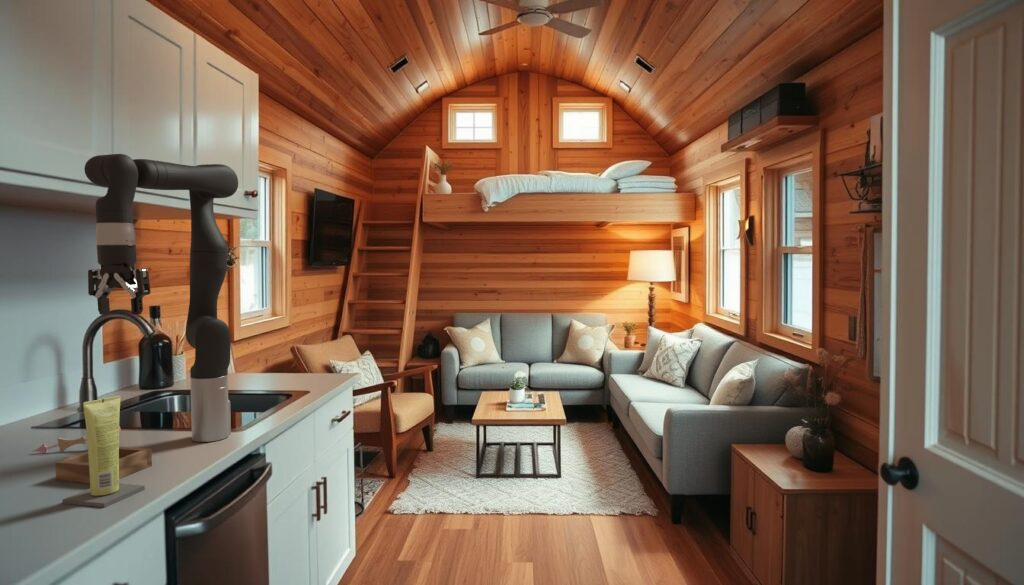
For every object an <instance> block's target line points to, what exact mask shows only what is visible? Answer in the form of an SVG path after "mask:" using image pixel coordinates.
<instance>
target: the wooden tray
mask: <svg viewBox="0 0 1024 585" xmlns="http://www.w3.org/2000/svg"><path fill="white" fill-rule="evenodd" d="M152 456H153V454H152V449H151V448H142V447H141V448H139V447H129V446H127V447H126V446H119V480H120V479H123V478H126V477H128V476H129V475H133V474H135V473H138V472H139V471H142V470H145V469H147V468H150V467H152V466H153V458H152ZM54 463H55V481H60V482H71V483H82V484H90V472H89V456H88V451H85V452H82V453H80V454H77V455H74V456H71V457H68V458H65V459H62V460H58V461H57V462H54Z"/></svg>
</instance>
